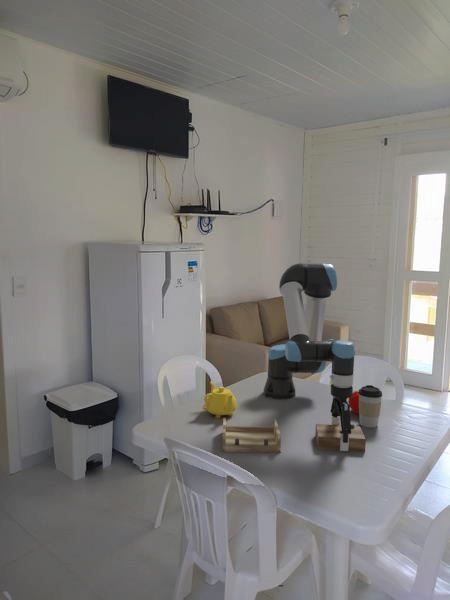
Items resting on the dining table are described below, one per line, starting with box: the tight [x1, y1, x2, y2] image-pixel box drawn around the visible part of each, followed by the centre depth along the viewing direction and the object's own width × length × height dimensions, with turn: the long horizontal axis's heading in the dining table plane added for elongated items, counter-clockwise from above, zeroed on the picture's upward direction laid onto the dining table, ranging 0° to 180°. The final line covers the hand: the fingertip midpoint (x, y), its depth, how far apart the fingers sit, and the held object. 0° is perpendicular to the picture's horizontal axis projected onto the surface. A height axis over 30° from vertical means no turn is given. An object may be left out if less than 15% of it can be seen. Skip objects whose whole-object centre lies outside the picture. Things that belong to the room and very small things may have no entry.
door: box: [314, 423, 367, 453], centre depth 161 cm, size 11×16×6 cm
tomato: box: [347, 390, 359, 416], centre depth 191 cm, size 11×12×9 cm
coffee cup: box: [358, 384, 383, 428], centre depth 178 cm, size 9×9×15 cm
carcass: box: [221, 417, 282, 454], centre depth 162 cm, size 16×20×6 cm
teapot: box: [202, 380, 238, 419], centre depth 187 cm, size 20×15×12 cm
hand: (339, 442), depth 161 cm, fingers open, 13 cm apart
